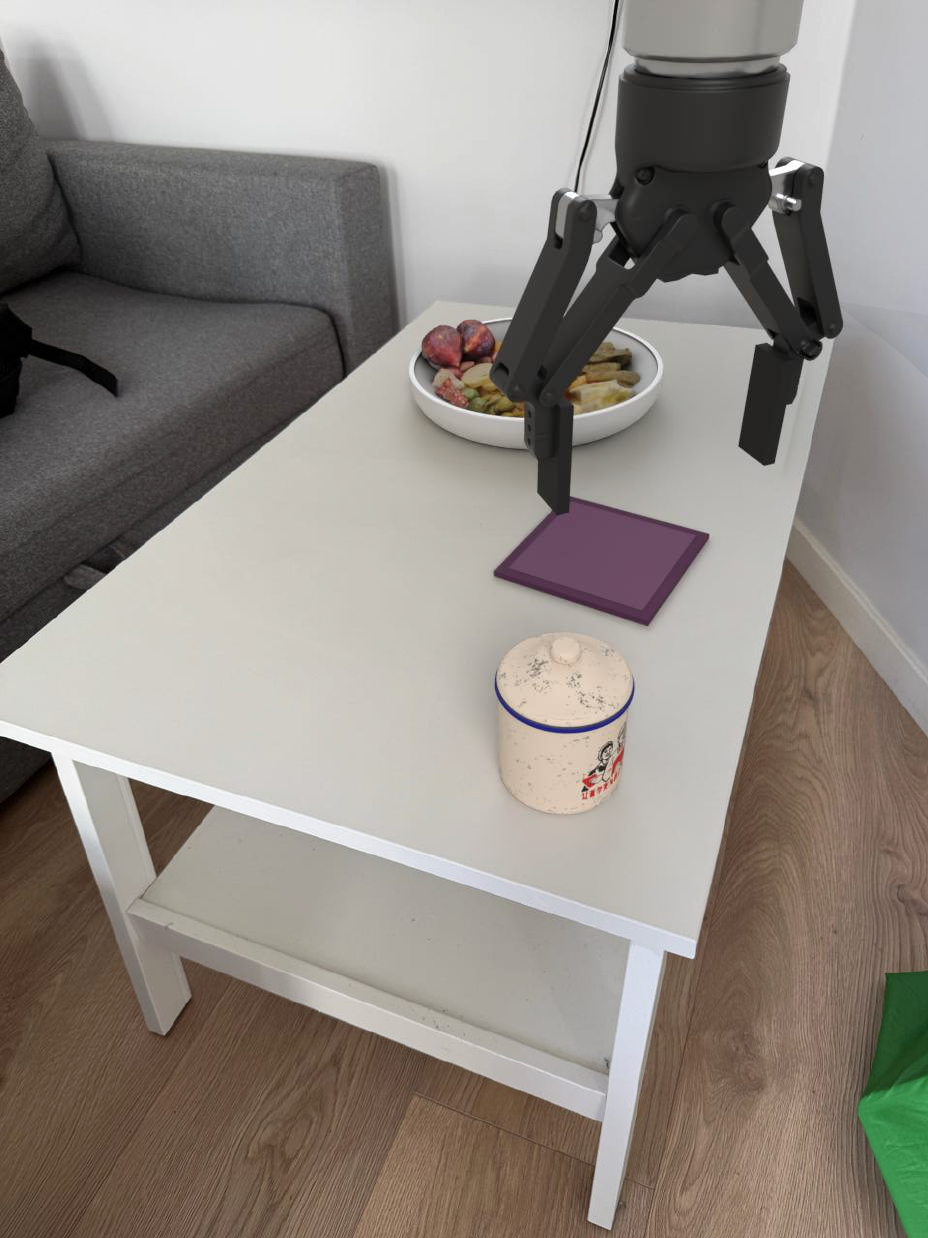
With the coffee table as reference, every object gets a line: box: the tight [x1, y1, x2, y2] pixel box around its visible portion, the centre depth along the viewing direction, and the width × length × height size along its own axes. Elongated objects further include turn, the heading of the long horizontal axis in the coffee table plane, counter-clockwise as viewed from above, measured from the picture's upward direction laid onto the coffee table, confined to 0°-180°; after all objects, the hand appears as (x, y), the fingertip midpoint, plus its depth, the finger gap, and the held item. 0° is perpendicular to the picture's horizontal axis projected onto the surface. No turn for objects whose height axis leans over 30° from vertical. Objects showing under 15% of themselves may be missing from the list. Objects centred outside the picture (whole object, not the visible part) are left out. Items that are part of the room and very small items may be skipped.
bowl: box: [407, 316, 665, 450], centre depth 109 cm, size 30×30×8 cm
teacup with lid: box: [494, 631, 636, 815], centre depth 62 cm, size 12×9×12 cm
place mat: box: [493, 495, 710, 627], centre depth 85 cm, size 15×15×1 cm
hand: (657, 478), depth 54 cm, fingers open, 13 cm apart
